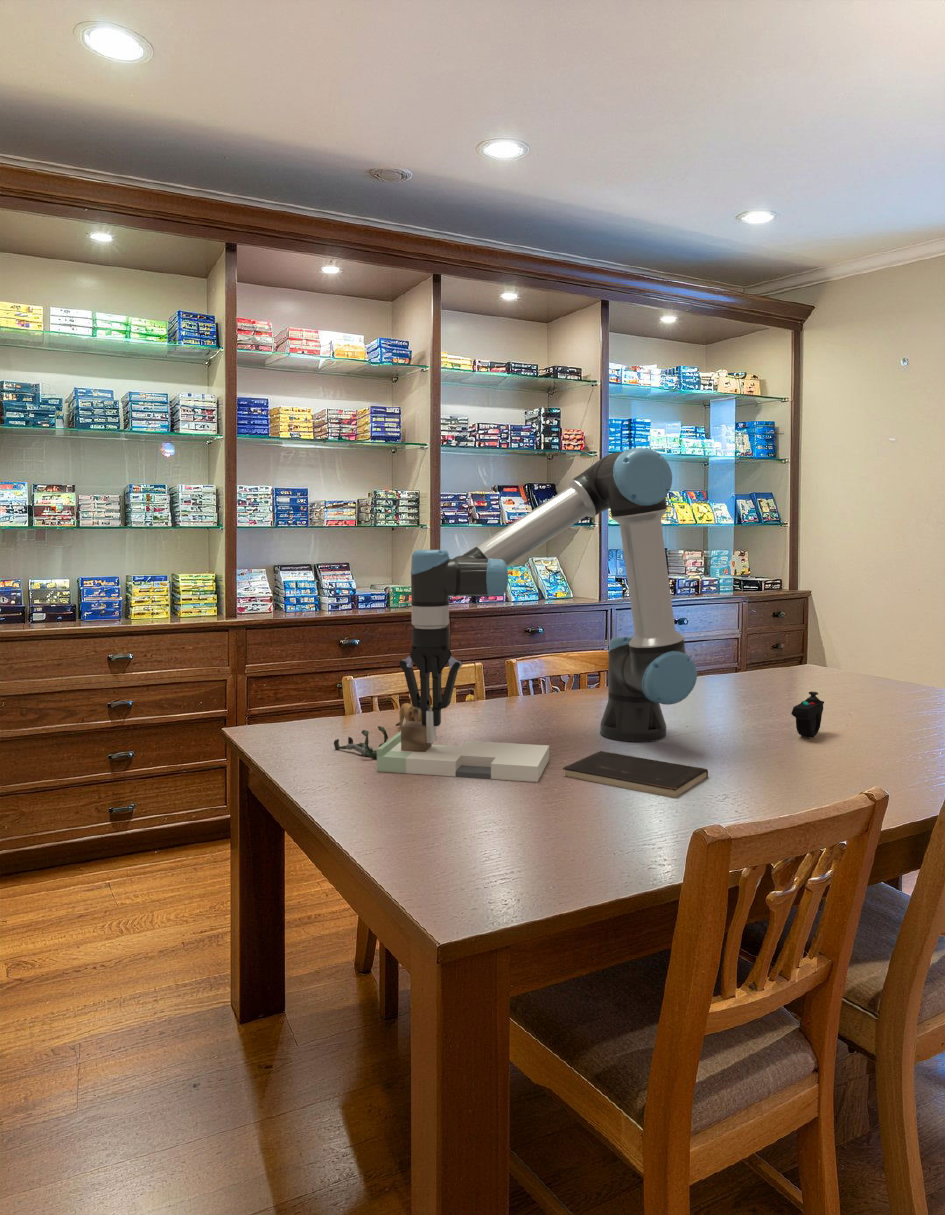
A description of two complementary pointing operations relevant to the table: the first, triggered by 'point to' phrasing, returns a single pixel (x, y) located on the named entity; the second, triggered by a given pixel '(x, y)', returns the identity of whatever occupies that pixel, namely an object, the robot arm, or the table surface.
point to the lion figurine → (409, 714)
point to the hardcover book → (636, 773)
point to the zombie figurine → (362, 744)
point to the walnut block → (414, 737)
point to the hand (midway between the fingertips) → (431, 741)
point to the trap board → (467, 760)
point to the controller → (808, 715)
